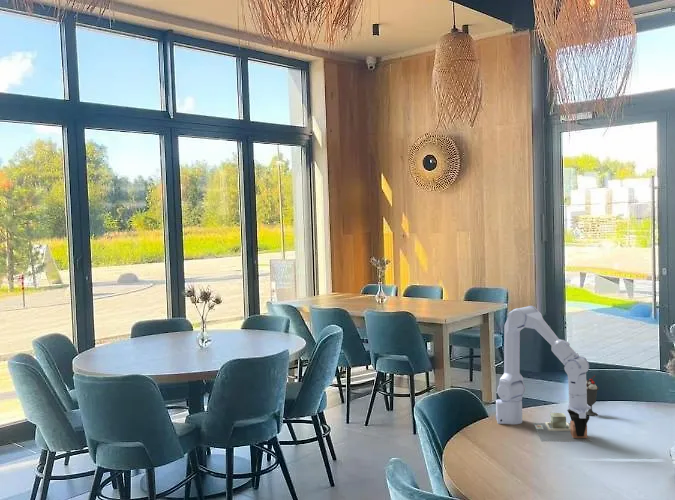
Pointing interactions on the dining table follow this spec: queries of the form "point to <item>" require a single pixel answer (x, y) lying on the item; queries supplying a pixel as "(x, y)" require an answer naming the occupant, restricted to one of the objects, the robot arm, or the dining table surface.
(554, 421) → the sage block
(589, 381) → the sundae
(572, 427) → the terracotta block
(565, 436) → the grey board
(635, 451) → the dining table surface
